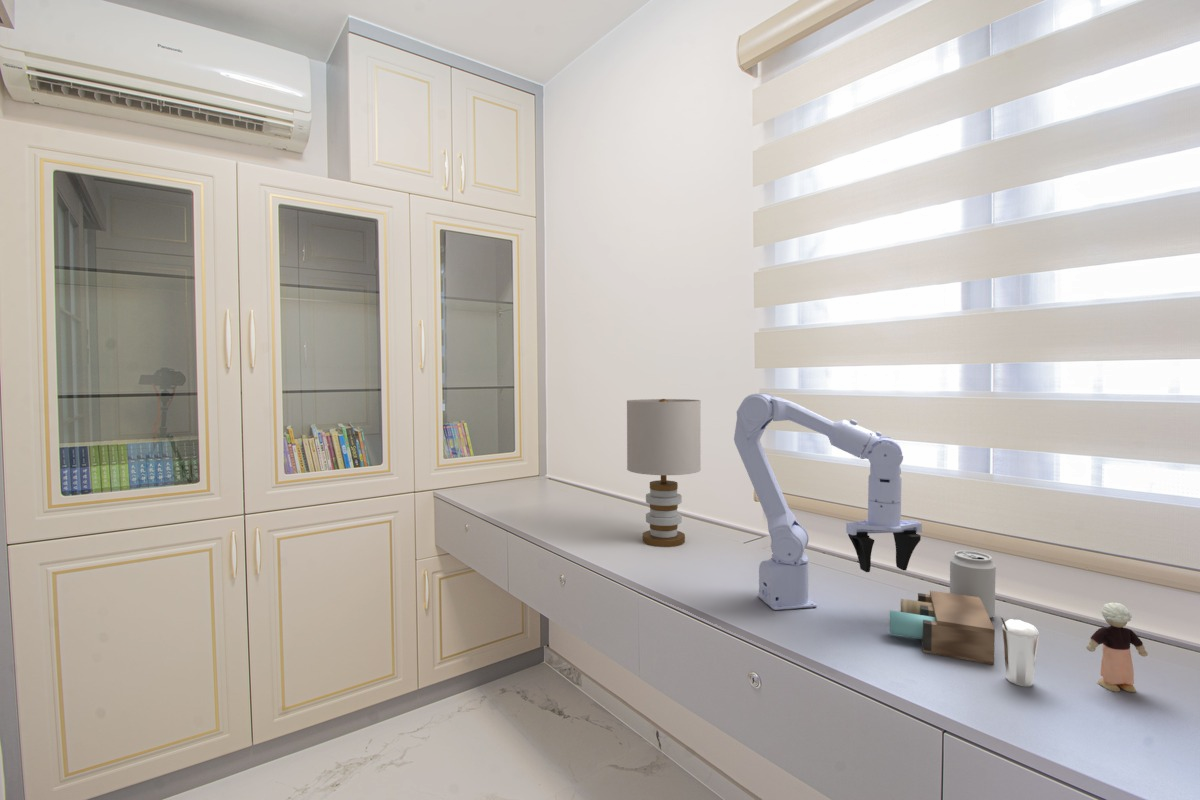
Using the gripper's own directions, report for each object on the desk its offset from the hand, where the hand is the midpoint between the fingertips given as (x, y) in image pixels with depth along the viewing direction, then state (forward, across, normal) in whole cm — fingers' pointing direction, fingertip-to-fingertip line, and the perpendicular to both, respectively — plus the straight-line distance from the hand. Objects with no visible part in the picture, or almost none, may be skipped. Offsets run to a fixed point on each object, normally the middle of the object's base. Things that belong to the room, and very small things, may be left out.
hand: (883, 569), depth 110 cm
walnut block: (+9, +6, -11) cm, 15 cm away
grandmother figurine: (+9, +19, -28) cm, 35 cm away
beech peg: (+8, +6, -6) cm, 12 cm away
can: (+9, +18, -1) cm, 20 cm away
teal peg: (+8, 0, -11) cm, 14 cm away
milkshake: (+9, +6, -25) cm, 27 cm away
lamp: (+10, -30, +57) cm, 65 cm away
